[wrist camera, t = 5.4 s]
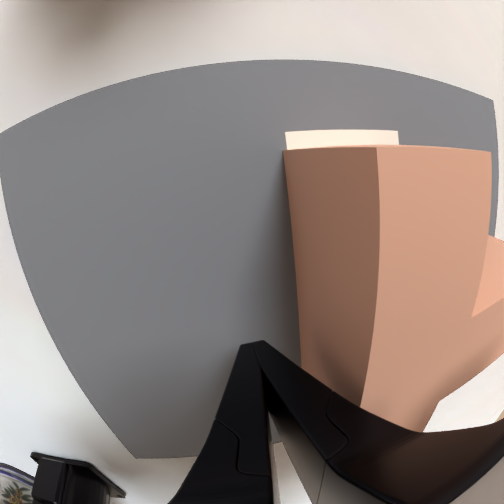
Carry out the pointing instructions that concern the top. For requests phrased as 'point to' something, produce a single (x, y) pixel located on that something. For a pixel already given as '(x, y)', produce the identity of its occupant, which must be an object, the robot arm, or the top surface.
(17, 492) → the vase
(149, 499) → the top surface
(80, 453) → the top surface
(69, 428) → the top surface
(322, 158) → the t block
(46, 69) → the top surface
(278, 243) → the mat
